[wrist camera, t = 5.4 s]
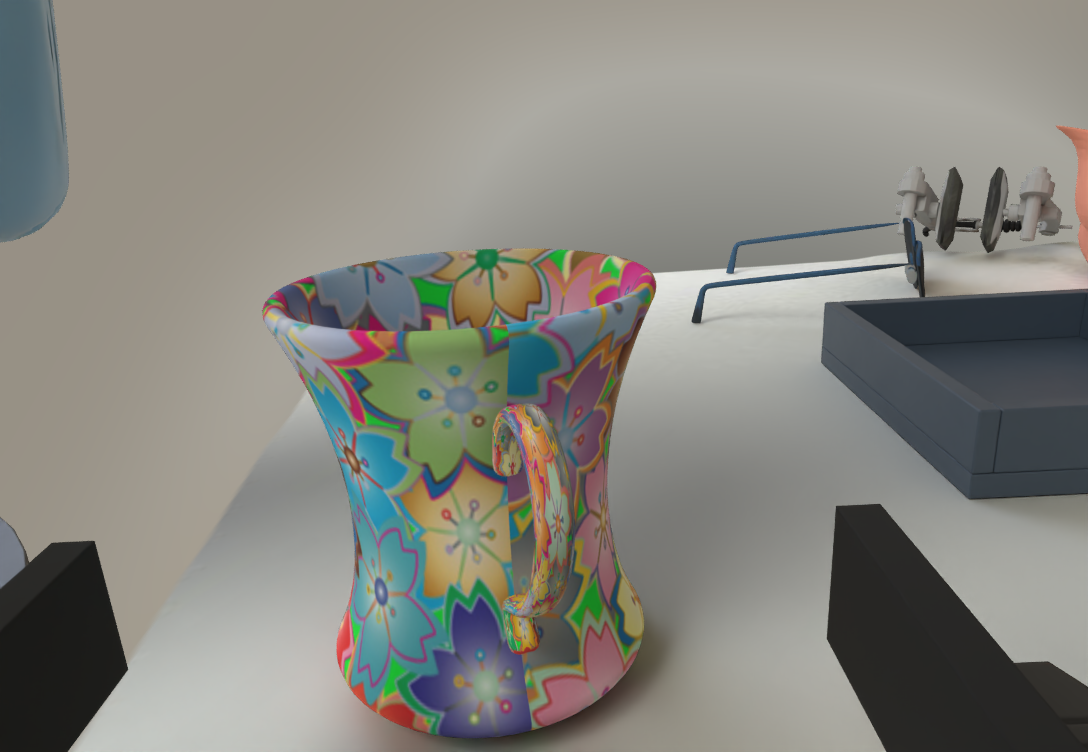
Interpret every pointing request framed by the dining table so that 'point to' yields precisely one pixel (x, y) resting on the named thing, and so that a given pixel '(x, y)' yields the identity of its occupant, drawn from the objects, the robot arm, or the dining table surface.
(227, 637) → the dining table surface
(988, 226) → the wheel axle
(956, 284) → the dining table surface
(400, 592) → the mug
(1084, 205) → the teapot
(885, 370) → the tray
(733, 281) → the sunglasses
